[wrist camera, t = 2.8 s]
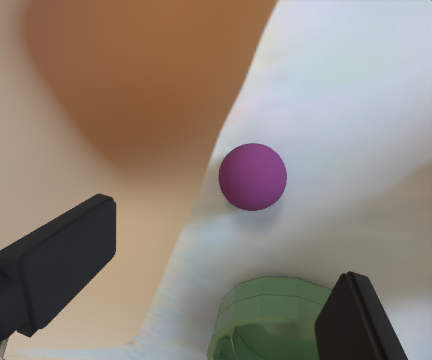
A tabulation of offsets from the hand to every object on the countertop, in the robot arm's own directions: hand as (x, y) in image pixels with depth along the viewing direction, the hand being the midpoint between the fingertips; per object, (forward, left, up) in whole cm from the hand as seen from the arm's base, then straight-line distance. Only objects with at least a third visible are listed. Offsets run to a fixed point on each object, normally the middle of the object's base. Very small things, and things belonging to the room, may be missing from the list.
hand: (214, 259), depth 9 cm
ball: (0, 0, -12) cm, 12 cm away
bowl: (+17, +8, -12) cm, 22 cm away
